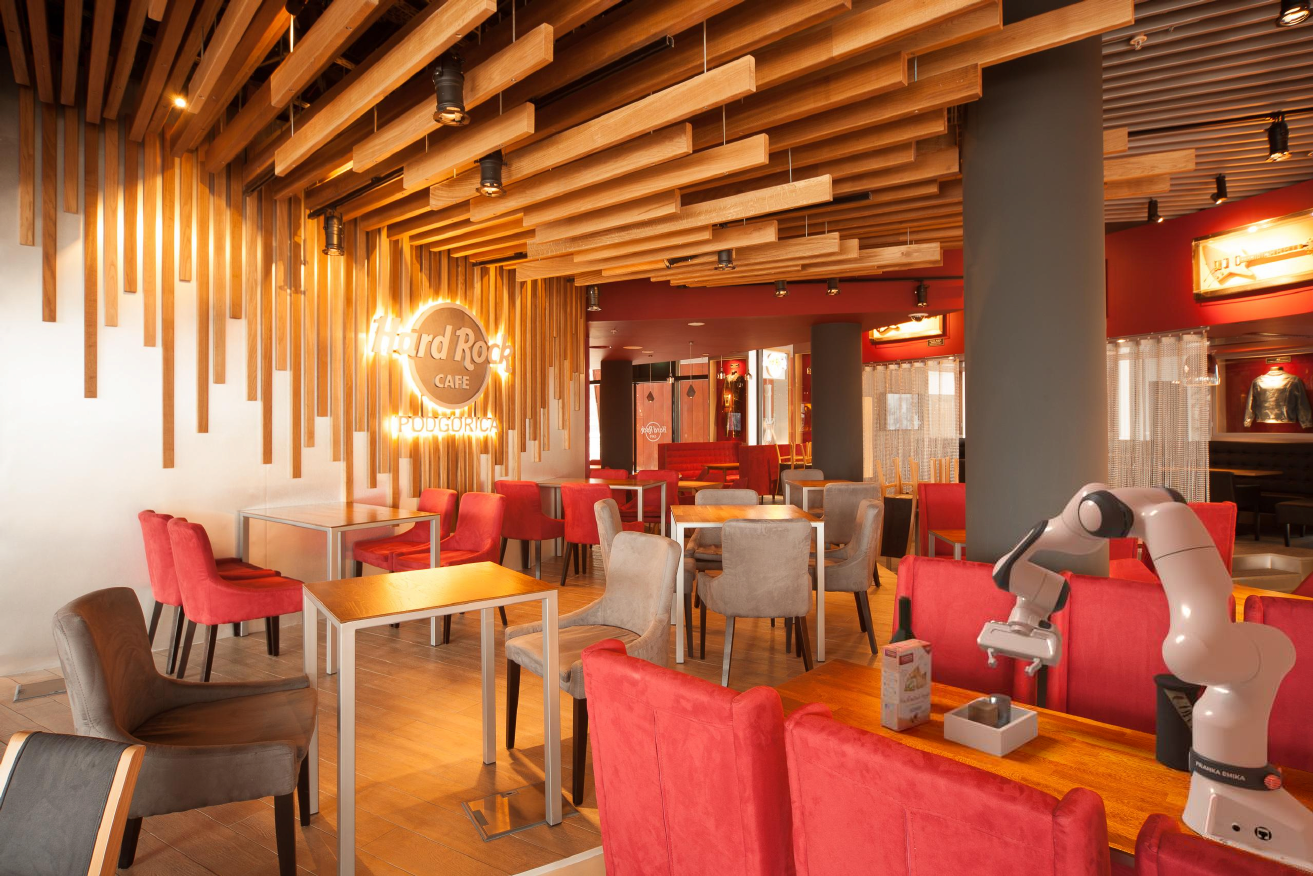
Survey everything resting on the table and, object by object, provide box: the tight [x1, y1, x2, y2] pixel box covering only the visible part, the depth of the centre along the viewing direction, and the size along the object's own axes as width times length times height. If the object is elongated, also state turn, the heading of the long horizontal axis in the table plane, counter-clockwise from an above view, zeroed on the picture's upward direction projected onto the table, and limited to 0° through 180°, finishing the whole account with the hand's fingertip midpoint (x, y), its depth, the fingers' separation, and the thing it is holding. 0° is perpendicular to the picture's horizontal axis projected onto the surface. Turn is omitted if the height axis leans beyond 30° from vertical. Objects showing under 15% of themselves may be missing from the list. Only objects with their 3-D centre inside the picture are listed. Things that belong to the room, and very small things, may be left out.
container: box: [1152, 673, 1203, 772], centre depth 163 cm, size 9×9×20 cm
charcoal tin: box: [988, 693, 1012, 729], centre depth 180 cm, size 5×5×8 cm
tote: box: [943, 696, 1039, 758], centre depth 177 cm, size 14×20×6 cm
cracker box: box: [880, 638, 932, 733], centre depth 186 cm, size 14×6×21 cm, turn 125°
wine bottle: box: [888, 595, 918, 645], centre depth 202 cm, size 8×8×30 cm
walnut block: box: [968, 700, 998, 729], centre depth 174 cm, size 5×5×8 cm
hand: (1009, 670), depth 184 cm, fingers open, 8 cm apart
